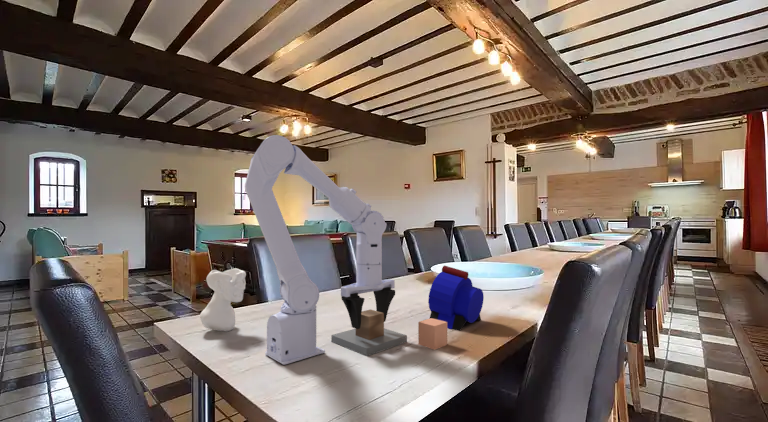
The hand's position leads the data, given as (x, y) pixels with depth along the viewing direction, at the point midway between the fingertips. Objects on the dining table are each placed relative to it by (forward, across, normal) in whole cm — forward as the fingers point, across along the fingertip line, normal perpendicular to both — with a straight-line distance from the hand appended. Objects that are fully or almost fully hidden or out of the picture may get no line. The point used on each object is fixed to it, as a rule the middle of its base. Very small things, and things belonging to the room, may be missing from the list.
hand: (369, 324), depth 82 cm
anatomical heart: (+4, -20, +31) cm, 37 cm away
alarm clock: (+4, +27, -5) cm, 28 cm away
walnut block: (+2, 0, 0) cm, 2 cm away
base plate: (+4, 0, 0) cm, 4 cm away
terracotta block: (+4, +9, -11) cm, 15 cm away
